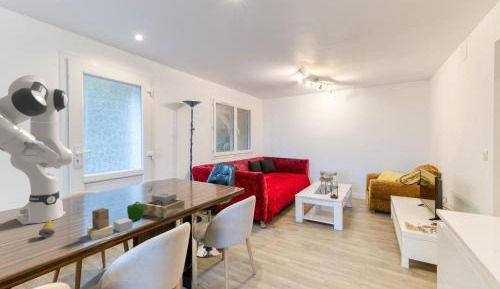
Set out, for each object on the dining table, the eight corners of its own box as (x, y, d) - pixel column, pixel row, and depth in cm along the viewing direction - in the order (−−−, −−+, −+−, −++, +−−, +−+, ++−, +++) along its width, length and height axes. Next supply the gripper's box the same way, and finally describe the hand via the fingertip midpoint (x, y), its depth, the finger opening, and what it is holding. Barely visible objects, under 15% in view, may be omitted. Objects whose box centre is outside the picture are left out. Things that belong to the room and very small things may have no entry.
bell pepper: (125, 218, 124) (125, 200, 124) (141, 215, 129) (141, 198, 129) (129, 223, 118) (129, 204, 117) (145, 219, 123) (145, 201, 123)
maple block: (87, 235, 103) (87, 227, 103) (106, 230, 109) (106, 222, 109) (93, 240, 98) (93, 231, 98) (113, 234, 104) (113, 226, 104)
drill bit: (34, 241, 97) (39, 220, 103) (49, 242, 101) (52, 222, 107) (41, 235, 96) (46, 214, 102) (56, 236, 100) (59, 216, 106)
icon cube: (176, 209, 141) (176, 193, 141) (164, 214, 132) (164, 197, 132) (164, 207, 145) (164, 191, 145) (152, 211, 136) (152, 195, 136)
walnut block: (92, 228, 102) (92, 210, 101) (102, 224, 106) (101, 208, 106) (99, 229, 100) (99, 212, 100) (108, 226, 104) (108, 209, 104)
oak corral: (142, 213, 132) (142, 203, 132) (163, 205, 147) (163, 196, 147) (164, 218, 125) (164, 207, 125) (184, 209, 141) (184, 199, 141)
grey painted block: (113, 229, 110) (113, 221, 110) (126, 225, 115) (126, 217, 115) (119, 232, 106) (119, 224, 106) (132, 228, 111) (132, 220, 111)
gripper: (42, 136, 77) (74, 161, 86) (12, 136, 85) (44, 159, 94) (25, 149, 73) (61, 174, 82) (-4, 148, 81) (31, 171, 90)
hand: (52, 166), depth 88 cm, fingers open, 8 cm apart
